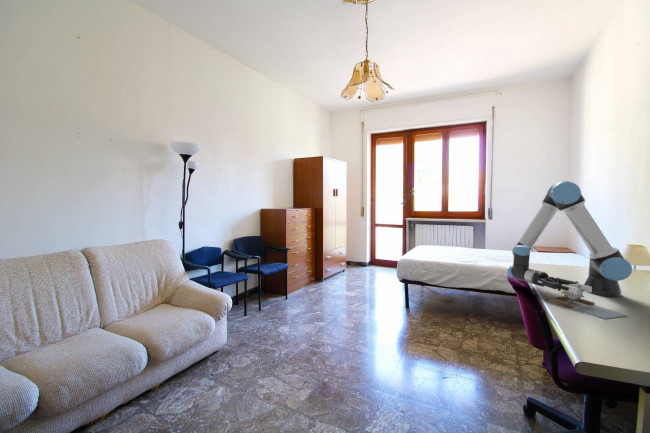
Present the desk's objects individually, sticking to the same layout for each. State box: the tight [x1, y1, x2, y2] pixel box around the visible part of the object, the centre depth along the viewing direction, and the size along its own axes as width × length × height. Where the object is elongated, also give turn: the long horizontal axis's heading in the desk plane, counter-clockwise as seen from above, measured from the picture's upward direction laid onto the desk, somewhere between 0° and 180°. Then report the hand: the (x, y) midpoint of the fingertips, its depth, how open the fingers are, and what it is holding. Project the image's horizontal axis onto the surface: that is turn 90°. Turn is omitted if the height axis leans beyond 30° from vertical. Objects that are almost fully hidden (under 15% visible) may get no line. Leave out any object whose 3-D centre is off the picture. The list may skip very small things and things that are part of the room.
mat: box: [573, 305, 628, 320], centre depth 133 cm, size 14×12×1 cm
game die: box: [560, 283, 585, 302], centre depth 143 cm, size 9×8×10 cm
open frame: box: [545, 295, 595, 309], centre depth 145 cm, size 16×11×2 cm
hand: (584, 290), depth 139 cm, fingers closed on game die, 8 cm apart
